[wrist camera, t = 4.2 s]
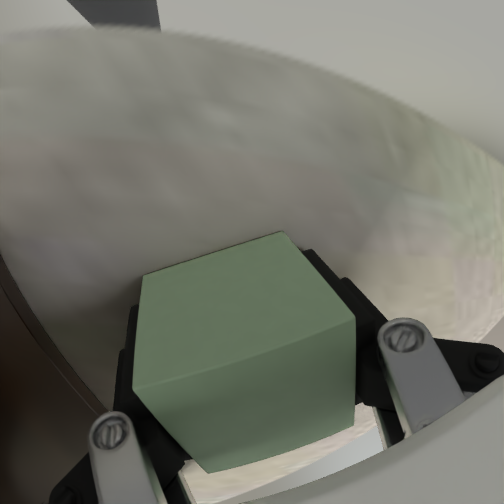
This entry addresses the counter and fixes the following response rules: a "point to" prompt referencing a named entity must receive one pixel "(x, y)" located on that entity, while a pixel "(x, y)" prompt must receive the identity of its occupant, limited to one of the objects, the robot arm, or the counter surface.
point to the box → (36, 405)
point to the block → (245, 353)
